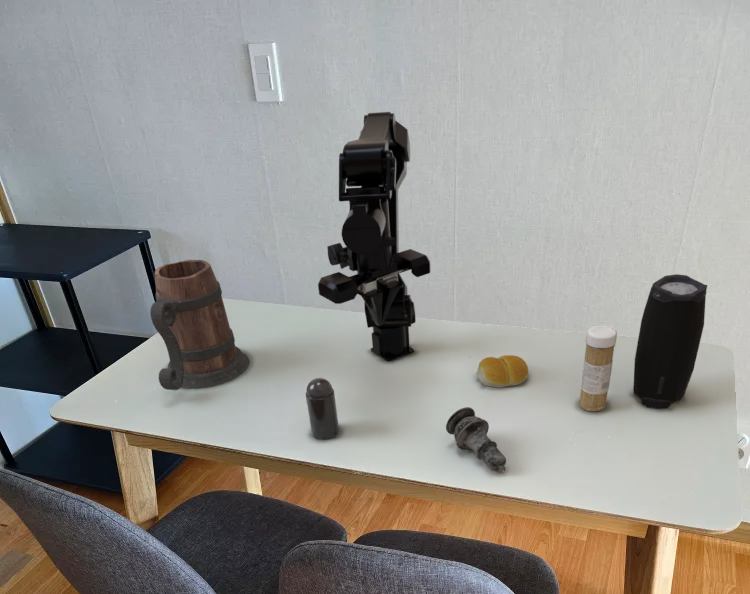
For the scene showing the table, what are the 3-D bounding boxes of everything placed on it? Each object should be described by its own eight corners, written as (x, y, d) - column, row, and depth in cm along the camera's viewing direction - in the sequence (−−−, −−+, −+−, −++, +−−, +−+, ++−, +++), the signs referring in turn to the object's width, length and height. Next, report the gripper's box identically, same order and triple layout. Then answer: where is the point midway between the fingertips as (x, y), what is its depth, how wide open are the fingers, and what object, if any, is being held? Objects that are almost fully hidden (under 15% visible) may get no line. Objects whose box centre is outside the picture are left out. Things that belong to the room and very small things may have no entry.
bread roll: (534, 384, 123) (535, 364, 121) (485, 391, 123) (485, 371, 120) (519, 363, 130) (520, 343, 127) (472, 370, 129) (472, 350, 127)
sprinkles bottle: (594, 396, 119) (603, 321, 110) (612, 407, 115) (624, 331, 107) (572, 403, 117) (580, 329, 109) (590, 415, 114) (600, 339, 106)
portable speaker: (642, 379, 122) (662, 269, 110) (695, 395, 116) (723, 280, 104) (618, 400, 117) (637, 286, 105) (673, 417, 112) (699, 300, 100)
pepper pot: (330, 421, 119) (323, 369, 113) (344, 433, 116) (337, 380, 110) (307, 431, 117) (298, 378, 111) (320, 442, 114) (312, 389, 108)
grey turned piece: (460, 438, 112) (503, 488, 106) (437, 431, 108) (480, 482, 101) (482, 410, 110) (528, 459, 103) (460, 401, 106) (506, 452, 99)
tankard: (188, 346, 147) (163, 251, 135) (262, 350, 143) (243, 252, 131) (131, 403, 130) (96, 300, 117) (213, 409, 125) (186, 302, 113)
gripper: (390, 207, 118) (396, 295, 128) (294, 234, 111) (308, 326, 120) (431, 221, 111) (433, 313, 120) (331, 251, 103) (342, 348, 113)
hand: (379, 324), depth 119 cm, fingers closed
